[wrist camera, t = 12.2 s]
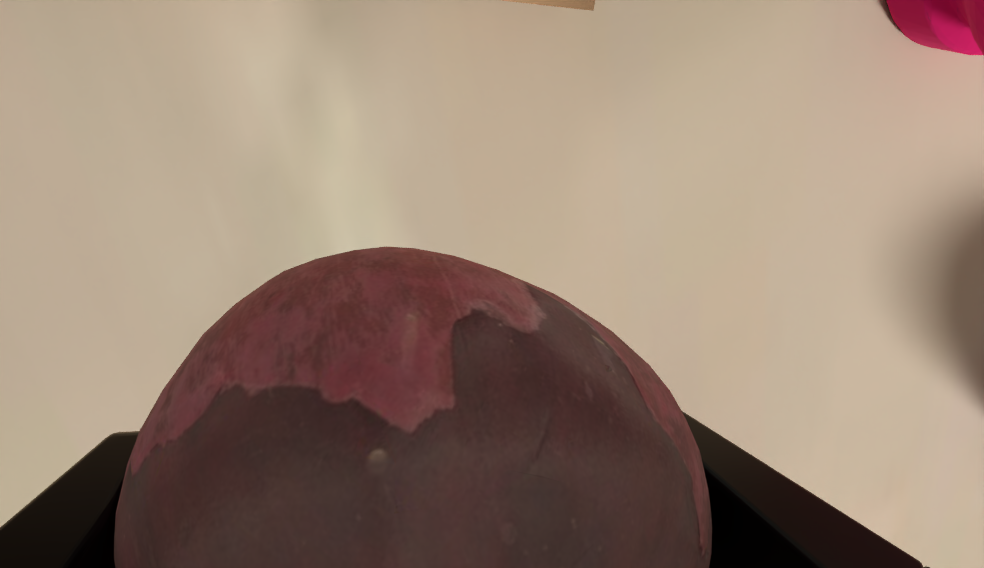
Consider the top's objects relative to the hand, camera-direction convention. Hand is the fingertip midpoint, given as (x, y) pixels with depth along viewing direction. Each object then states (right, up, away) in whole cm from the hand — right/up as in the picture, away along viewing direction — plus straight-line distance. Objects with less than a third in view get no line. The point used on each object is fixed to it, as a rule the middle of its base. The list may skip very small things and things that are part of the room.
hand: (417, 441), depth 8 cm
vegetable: (-1, +1, +2) cm, 3 cm away
